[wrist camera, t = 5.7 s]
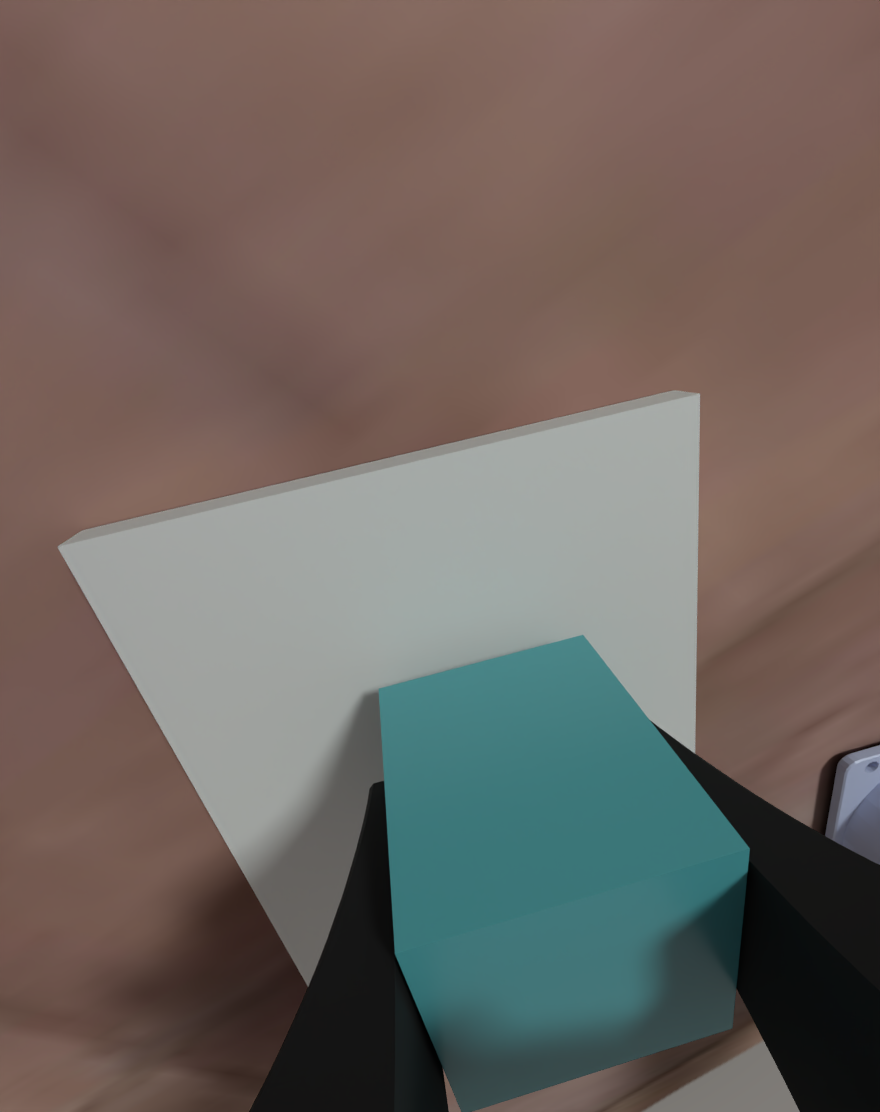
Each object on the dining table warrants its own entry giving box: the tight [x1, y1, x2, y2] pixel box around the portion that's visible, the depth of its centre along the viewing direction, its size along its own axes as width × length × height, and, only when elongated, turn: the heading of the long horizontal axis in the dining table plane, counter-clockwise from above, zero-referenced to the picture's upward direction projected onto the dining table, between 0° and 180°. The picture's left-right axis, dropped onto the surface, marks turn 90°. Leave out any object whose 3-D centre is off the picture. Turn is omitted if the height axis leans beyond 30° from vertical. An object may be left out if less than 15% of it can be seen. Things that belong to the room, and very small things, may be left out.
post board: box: [58, 390, 700, 986], centre depth 13 cm, size 14×20×5 cm
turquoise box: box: [379, 635, 750, 1112], centre depth 10 cm, size 5×5×6 cm
